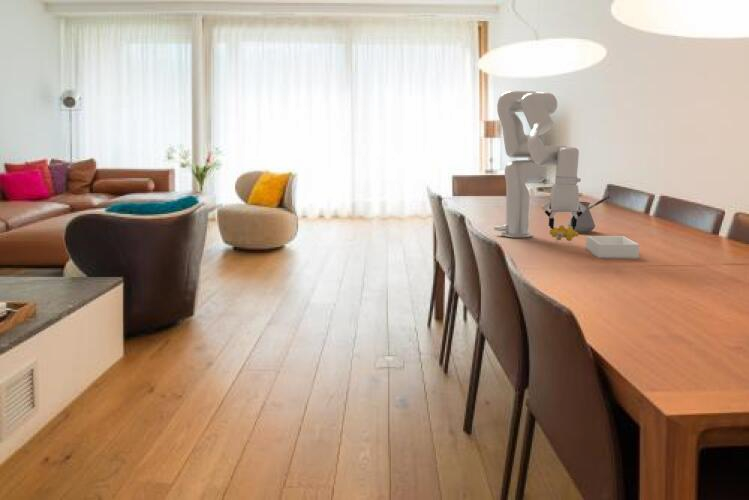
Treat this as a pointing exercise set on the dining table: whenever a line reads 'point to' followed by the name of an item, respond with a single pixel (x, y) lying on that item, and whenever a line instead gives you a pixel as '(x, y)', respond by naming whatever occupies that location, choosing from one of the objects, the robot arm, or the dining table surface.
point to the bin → (612, 247)
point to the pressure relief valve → (563, 233)
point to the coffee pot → (586, 218)
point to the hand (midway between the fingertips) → (562, 228)
